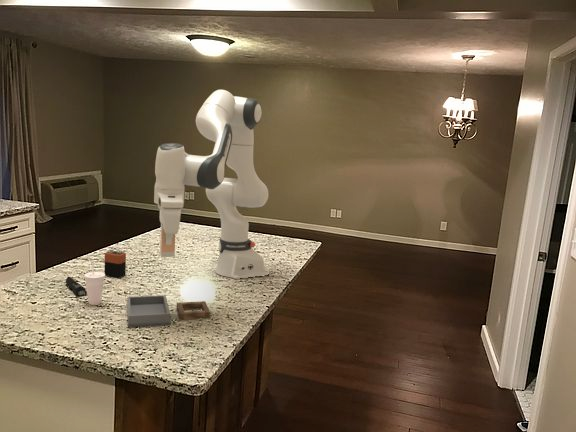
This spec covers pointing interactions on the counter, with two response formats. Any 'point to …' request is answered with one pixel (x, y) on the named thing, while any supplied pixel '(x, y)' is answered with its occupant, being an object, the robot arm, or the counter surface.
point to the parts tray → (148, 311)
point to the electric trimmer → (76, 287)
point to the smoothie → (94, 286)
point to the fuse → (166, 249)
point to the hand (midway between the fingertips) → (167, 242)
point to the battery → (115, 263)
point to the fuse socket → (192, 314)
